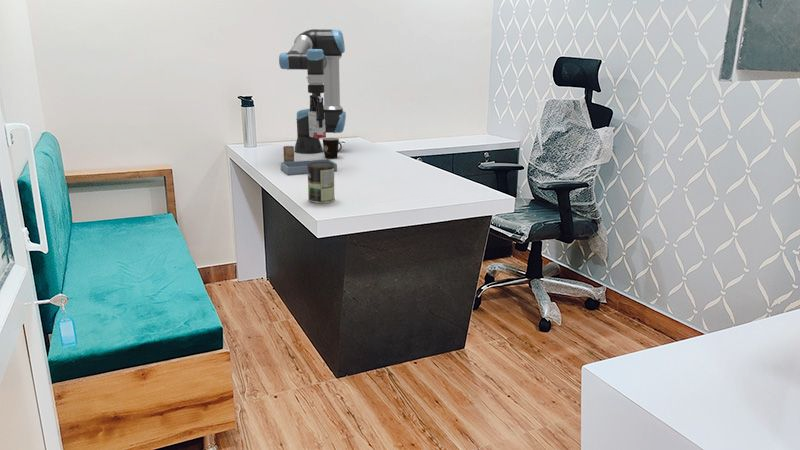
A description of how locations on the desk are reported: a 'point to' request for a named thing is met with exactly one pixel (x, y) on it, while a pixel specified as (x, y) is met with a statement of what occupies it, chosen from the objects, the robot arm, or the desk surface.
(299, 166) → the tray
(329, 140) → the coffee mug
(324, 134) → the ink box
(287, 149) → the walnut dowel
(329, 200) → the coffee can
